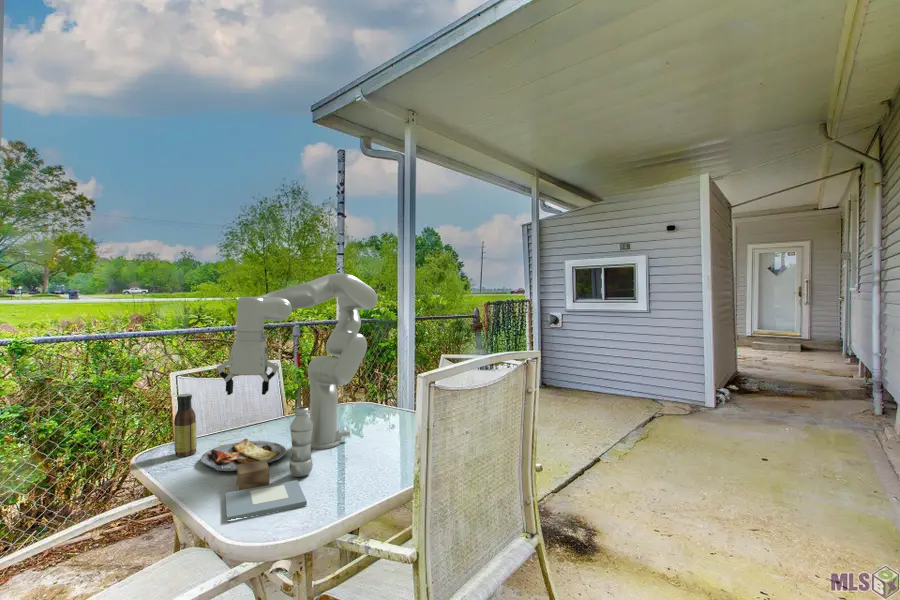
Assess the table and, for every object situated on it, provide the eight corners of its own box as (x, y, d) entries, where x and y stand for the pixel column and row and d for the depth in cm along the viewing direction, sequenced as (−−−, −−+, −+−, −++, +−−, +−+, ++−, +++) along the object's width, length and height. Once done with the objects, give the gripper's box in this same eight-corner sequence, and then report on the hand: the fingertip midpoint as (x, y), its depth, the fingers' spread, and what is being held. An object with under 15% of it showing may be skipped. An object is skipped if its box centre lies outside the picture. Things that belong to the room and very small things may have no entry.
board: (297, 484, 121) (297, 479, 121) (306, 505, 109) (306, 500, 109) (225, 497, 112) (225, 492, 112) (226, 522, 100) (226, 517, 100)
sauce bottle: (190, 449, 146) (191, 391, 146) (200, 453, 143) (201, 393, 143) (169, 455, 141) (170, 394, 141) (179, 459, 137) (180, 397, 137)
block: (265, 476, 126) (265, 459, 126) (269, 486, 119) (269, 468, 119) (236, 482, 122) (237, 464, 122) (239, 492, 116) (239, 474, 116)
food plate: (187, 460, 136) (187, 449, 136) (256, 442, 155) (256, 432, 155) (228, 483, 122) (229, 471, 122) (298, 459, 141) (299, 449, 141)
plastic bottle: (317, 472, 129) (318, 406, 129) (302, 481, 123) (303, 411, 123) (299, 469, 131) (300, 404, 131) (284, 477, 125) (285, 409, 125)
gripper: (282, 337, 135) (279, 391, 135) (222, 335, 132) (220, 391, 131) (277, 338, 128) (275, 396, 127) (214, 337, 124) (211, 396, 124)
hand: (247, 394), depth 129 cm, fingers open, 9 cm apart
